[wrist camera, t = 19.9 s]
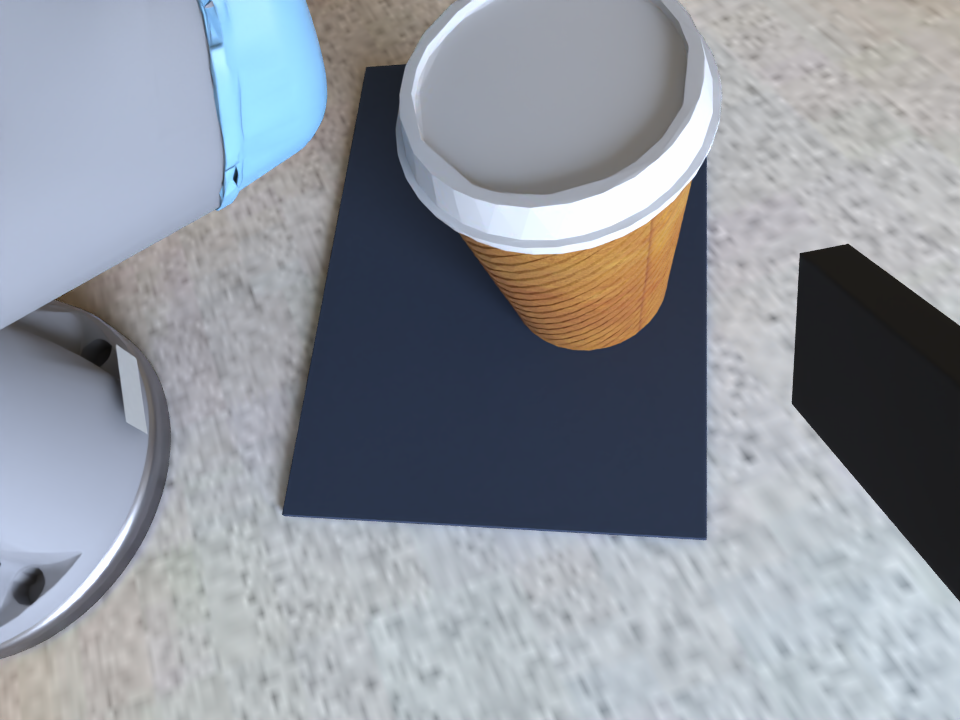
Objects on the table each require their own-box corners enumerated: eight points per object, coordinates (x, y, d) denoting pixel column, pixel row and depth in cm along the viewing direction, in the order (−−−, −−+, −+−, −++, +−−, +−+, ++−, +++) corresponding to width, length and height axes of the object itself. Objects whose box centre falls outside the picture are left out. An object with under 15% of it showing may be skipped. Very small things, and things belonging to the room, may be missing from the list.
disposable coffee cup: (454, 216, 37) (363, 6, 27) (671, 154, 36) (667, -91, 25) (497, 416, 33) (409, 265, 22) (742, 354, 32) (774, 163, 21)
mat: (284, 516, 34) (281, 514, 34) (367, 70, 42) (366, 66, 42) (706, 540, 30) (706, 538, 30) (706, 46, 38) (706, 42, 38)
